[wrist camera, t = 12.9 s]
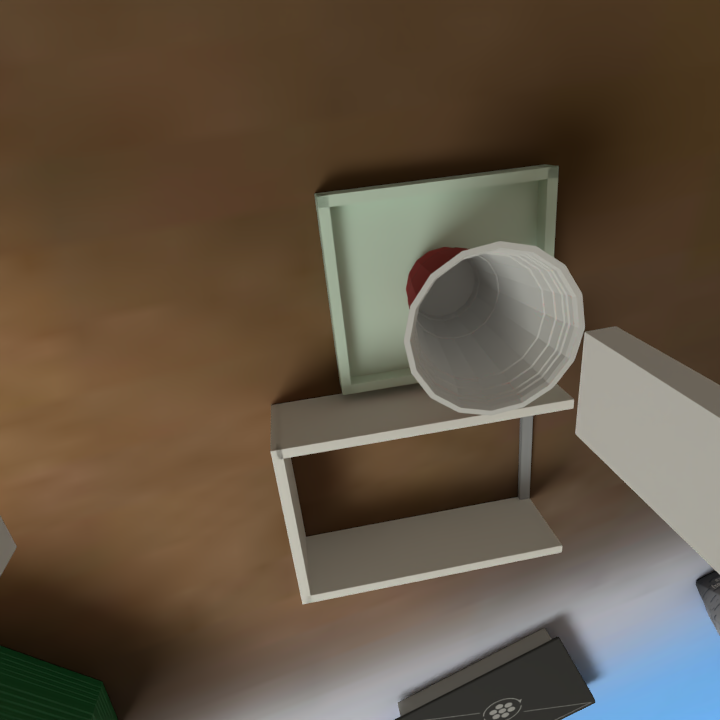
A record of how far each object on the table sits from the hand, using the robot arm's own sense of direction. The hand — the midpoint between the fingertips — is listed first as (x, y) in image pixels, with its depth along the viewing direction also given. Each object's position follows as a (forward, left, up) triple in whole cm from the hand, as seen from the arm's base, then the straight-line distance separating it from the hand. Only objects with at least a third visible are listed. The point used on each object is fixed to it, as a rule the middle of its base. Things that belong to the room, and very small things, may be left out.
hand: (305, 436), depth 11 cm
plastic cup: (+11, -6, -29) cm, 32 cm away
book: (+16, -60, -30) cm, 69 cm away
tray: (+11, -6, -29) cm, 32 cm away
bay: (+8, -23, -29) cm, 38 cm away
